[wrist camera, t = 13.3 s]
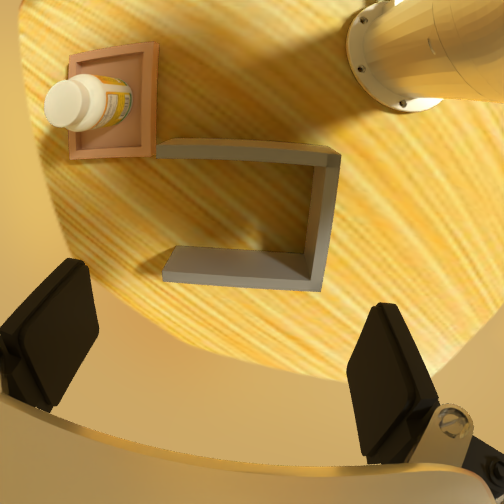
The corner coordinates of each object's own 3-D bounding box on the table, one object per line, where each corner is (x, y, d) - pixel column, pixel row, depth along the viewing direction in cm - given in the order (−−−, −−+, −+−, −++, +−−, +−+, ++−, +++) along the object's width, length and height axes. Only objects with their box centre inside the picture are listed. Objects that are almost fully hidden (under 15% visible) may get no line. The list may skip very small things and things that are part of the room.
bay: (174, 137, 31) (156, 144, 26) (327, 146, 31) (341, 154, 25) (176, 255, 37) (162, 281, 31) (312, 263, 37) (320, 291, 31)
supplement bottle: (141, 111, 29) (98, 116, 21) (101, 134, 30) (50, 148, 21) (124, 68, 27) (76, 59, 18) (84, 93, 28) (30, 95, 19)
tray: (77, 56, 27) (69, 55, 25) (159, 44, 27) (153, 41, 25) (77, 156, 32) (69, 159, 30) (156, 153, 32) (150, 156, 30)
